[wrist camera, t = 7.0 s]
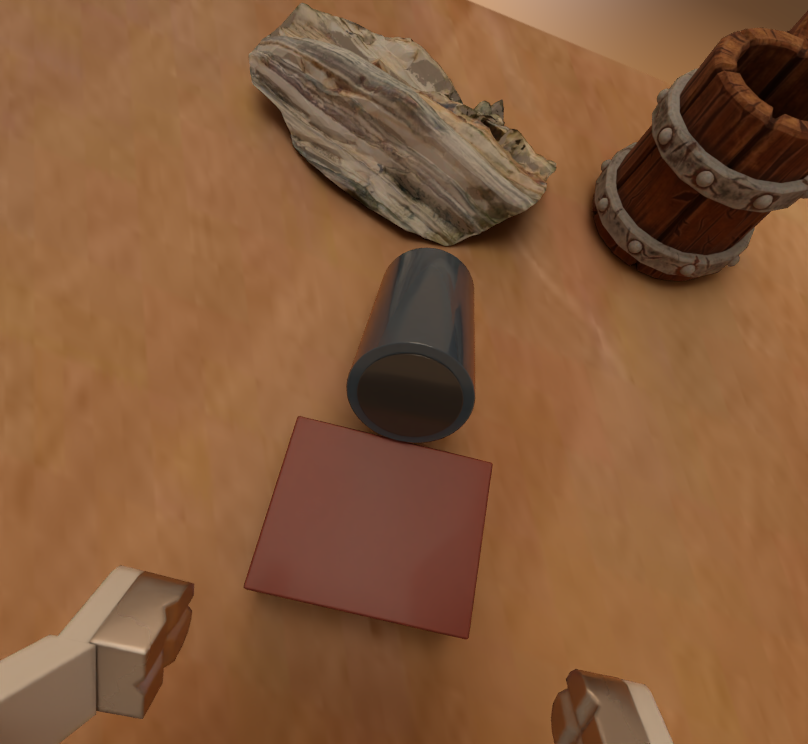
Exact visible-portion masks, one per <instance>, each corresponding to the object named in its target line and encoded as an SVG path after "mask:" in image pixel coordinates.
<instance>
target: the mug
mask: <svg viewBox="0 0 808 744" xmlns="http://www.w3.org/2000/svg"><path fill="white" fill-rule="evenodd" d="M657 102H658V105H657V106H656V108H655V110H654V111H653V113H652V126H651V127H650V128H649V129H648V130H647V131H646V133H645V134H644V135H643V136H642V137H641V139H640V140H639V141H638V142H635V143H633V144H631V145H629V146H627V147H626V148H624V149H622V150H620V151H619V152H617V153H616V154H615V156H614V157H613V158H612V159H611V160H606V161H604V162H603V163H602V165H601V170H602V173H601V175H600V176H599V178H598V179H597V181H596V190H595V194H594V198H593V212H596V213H597V214H596V215H595V216H594V220H595V223H596V226H597V229H598V232H599V235H600V236H601V237H602V239H603V240H604V241H605V243H606V244H607V246H608V247H609V248H610V250H611V251H612V252H613V253H614V254H615V255H616V256H617V257H619V258H620V259H621V260H623V261H624V262H625V263H626V264H628V265H629V266H630V265H632V264H634V263H637V270H638V271H640V272H642V273H645V274H647V275H649V276H652V277H654V278H657V279H665V280H673V281H685V280H690V279H694V278H698V277H699V276H704V275H708V274H713V273H717V272H719V271H720V270H721V269H722V268H724V267H725V266H726V265H727V266H734V265H736V264H737V263H738V262H739V259H740V258H739V254H740V253H741V252H743V251H744V250H745V249H746V248H747V246H748V244H749V241H750V239H751V236H752V234H753V231H754V227H755V226H756V225H757V224H758V223H759V222H760V221H761V220H762V219H763V218H764V217H766V216H767V215H768V214H769V213H770V212H771V211H774V210H779V209H784V208H788V207H789V206H791V205H792V204H793V203H794V202H796V201H797V200H798V199H800V198H803V199H804V198H808V11H807V12H806V13H805V14H804V15H803V16H802V18H801V19H800V20H799V21H798V22H797V23H796V24H795V26H794V27H793V28H792V29H791V30H790V31H787V32H783V31H778V30H773V29H767V28H751V29H744V30H742V31H741V32H740V31H737V32H733V33H731V34H729V35H727V36H725V37H724V38H722V39H721V40H720V42H719V43H718V44H717V45H716V47H715V48H714V49H713V50H712V52H711V53H710V54H709V56H708V57H707V58H706V59H705V61H704V62H703V63H702V64H701V66H700V67H699V68H698V69H694V70H692V71H691V72H689V73H687V74H685V75H683V76H681V77H679V78H677V80H676V81H675V82H674V83H673V85H672V86H671V87H670V88H669V89H664V90H662V91H661V92H660V93H659V95H658V96H657Z"/></svg>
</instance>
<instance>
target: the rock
mask: <svg viewBox="0 0 808 744" xmlns="http://www.w3.org/2000/svg"><path fill="white" fill-rule="evenodd" d="M249 62H250V73H251V79H252V82H253V85H254V86H255V87H257V88H258V89H259V90H260V91H261V92H262V93H263V94H265V95H266V96H267V97H268V98H269V99H270V100H271V101H272V102H273V103H274V104H275V105H276V106H277V107H278V109H279V110H280V111H281V113H282V115H283V118H284V120H285V123H286V125H287V127H288V128H289V130H290V132H291V139H292V143H293V145H294V147H295V148H296V149H297V150H298V151H299V153H300V154H301V155H302V156H304V157H305V158H306V159H307V161H308V162H309V163H311V164H312V165H313V166H315V167H316V168H317V169H318V170H320V171H321V172H322V173H323V174H324V175H325V176H326V177H328V178H329V179H330V180H331V181H333V182H334V183H335V184H336V185H337V186H339V187H340V188H341V189H343V190H344V191H346V192H347V193H348V194H349V195H351V196H352V197H353V198H355V199H357V200H358V201H359V202H361V203H362V204H364V205H365V206H366V207H368V208H369V209H371V210H373V211H375V212H376V213H378V214H380V215H381V216H383V217H385V218H386V219H388V220H390V221H391V222H393V223H395V224H396V225H398V226H399V227H401V228H403V229H404V230H406V231H409V232H413V233H416V234H419V235H421V236H422V237H423V238H424V239H430V240H432V241H435V242H437V243H439V244H441V245H444V246H449V245H453V244H456V243H458V242H460V241H461V240H463V239H465V238H467V237H470V236H473V235H478V234H480V232H481V231H486V230H487V229H489V228H491V227H492V226H494V225H496V224H498V223H500V222H502V221H504V220H505V219H507V218H509V217H512V216H515V215H517V214H519V213H521V212H524V211H526V210H527V209H528V208H529V207H531V206H532V205H534V204H535V203H537V202H538V200H539V199H540V198H541V196H542V195H543V193H544V192H545V191H546V188H547V183H546V180H547V178H548V177H549V176H550V175H551V174H552V173H554V172H555V170H556V167H555V166H556V163H555V162H553V161H550V160H546V159H545V158H544V157H543V156H541V155H539V154H537V153H535V151H534V150H533V148H532V147H531V146H530V145H529V144H528V142H527V141H526V140H525V138H524V137H523V136H522V134H521V133H520V132H519V131H518V130H515V129H509V128H508V127H506V126H504V123H505V122H504V121H503V112H504V107H503V100H500V101H498V102H496V103H495V104H493V105H492V106H490V103H488V102H486V101H482V102H480V103H479V104H478V105H477V106H476V107H475V109H472V108H470V107H468V106H466V105H463V103H462V101H461V99H460V97H459V95H458V93H457V91H456V90H455V88H454V86H453V84H452V82H451V80H450V79H449V77H448V76H447V75H446V73H445V72H444V70H443V69H442V68H441V66H440V65H439V64H438V63H437V62H436V61H435V60H434V59H433V58H432V57H431V56H430V55H429V53H428V52H427V51H426V50H425V49H424V48H423V47H421V46H420V45H419V44H417V43H415V42H414V41H413V40H412V39H411V38H401V37H395V38H388V37H384V36H382V35H379V34H376V33H373V32H371V31H369V30H368V29H366V28H364V27H362V26H360V25H358V24H356V23H354V22H351V21H349V20H346V19H343V18H340V17H336V16H332V15H330V14H328V13H324V12H321V11H318V10H315V9H312V8H311V7H310V6H308V5H307V4H304V3H301V4H300V5H298V6H297V8H296V9H295V10H294V11H293V12H292V13H291V14H290V16H289V17H288V18H287V19H286V20H285V21H284V22H283V24H282V25H281V26H280V27H278V28H277V29H276V30H275V31H274V32H272V33H271V34H270V35H268V36H267V37H265V38H264V39H262V40H261V42H260V43H259V44H258V46H257V47H256V48H255V49H254V50H253V51H252V52H251V53H250V54H249Z"/></svg>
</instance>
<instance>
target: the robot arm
mask: <svg viewBox="0 0 808 744" xmlns="http://www.w3.org/2000/svg"><path fill="white" fill-rule="evenodd" d="M193 596H194V584H193V583H190V582H186V581H182V580H178V579H174V578H170V577H166V576H162V575H158V574H155V573H151V572H147V571H143V570H138V569H134V568H130V567H126V566H122V565H120V566H119V567H117V568H116V569H114V570H113V571H112V572H111V573H110V574H109V575H108V576H107V578H106V579H105V580H104V581H103V582H102V584H101V585H100V586H99V587H98V588H97V590H96V591H95V592H94V593H93V594H92V596H91V597H90V598H89V599H88V600H87V602H86V603H85V604H84V605H83V606H82V608H81V609H80V610H79V611H78V612H77V614H76V615H75V616H74V617H73V618H72V620H71V621H70V622H69V623H68V624H67V626H66V627H65V628H64V629H63V630H62V632H61V633H60V634H59V635H58V636H55V635H48V636H46V637H44V638H42V639H40V640H39V641H37V642H35V643H33V644H31V645H29V646H27V647H25V648H23V649H22V650H20V651H18V652H16V653H14V654H12V655H10V656H8V657H6V658H4V659H3V660H1V661H0V744H59V743H60V742H62V741H63V740H64V739H65V738H67V737H68V736H69V735H70V734H72V733H73V732H74V731H76V730H77V729H78V728H79V727H81V726H82V725H83V724H84V723H86V722H87V721H88V720H89V719H91V718H92V717H93V716H95V715H96V711H100V712H106V713H111V714H117V715H122V716H128V717H133V718H139V719H143V718H144V716H145V714H146V713H147V711H148V709H149V707H150V705H151V704H152V702H153V700H154V698H155V696H156V694H157V693H158V691H159V689H160V687H161V685H162V683H163V671H164V668H165V667H166V666H168V665H169V664H171V663H172V662H174V661H175V659H176V657H177V655H178V654H179V652H180V650H181V648H182V646H183V643H184V641H185V638H186V636H187V633H188V630H189V626H190V622H191V617H192V610H191V609H190V607H189V606H188V605H189V603H190V601H191V599H192V598H193ZM566 682H567V685H568V688H567V689H565V690H563V691H561V692H559V693H558V694H557V696H556V699H555V701H554V703H553V706H552V714H551V726H552V734H553V739H554V743H555V744H674V743H673V741H672V739H671V736H670V734H669V732H668V730H667V727H666V725H665V723H664V720H663V718H662V716H661V714H660V711H659V709H658V707H657V705H656V702H655V700H654V698H653V695H652V693H651V691H650V690H649V689H648V687H647V686H646V685H644V684H640V683H636V682H631V681H627V680H623V679H619V678H616V677H611V676H607V675H602V674H597V673H592V672H588V671H583V670H578V669H575V670H573V671H571V672H570V673H569V675H568V677H567V678H566Z"/></svg>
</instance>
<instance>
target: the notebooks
mask: <svg viewBox="0 0 808 744" xmlns="http://www.w3.org/2000/svg"><path fill="white" fill-rule="evenodd" d="M491 472H492V463H490V462H486V461H482V460H478V459H474V458H470V457H465V456H461V455H457V454H453V453H449V452H445V451H441V450H437V449H433V448H429V447H424V446H420V445H416V444H412V443H408V442H402V441H397V440H394V439H390V438H387V437H383V436H379V435H375V434H371V433H367V432H363V431H359V430H355V429H350V428H346V427H342V426H338V425H334V424H330V423H326V422H322V421H318V420H313V419H309V418H305V417H301V416H298V417H297V420H296V423H295V426H294V429H293V433H292V436H291V439H290V442H289V445H288V448H287V451H286V455H285V458H284V461H283V464H282V467H281V470H280V473H279V477H278V480H277V483H276V486H275V489H274V492H273V495H272V499H271V502H270V505H269V508H268V511H267V514H266V517H265V521H264V524H263V527H262V530H261V533H260V536H259V539H258V543H257V546H256V549H255V552H254V555H253V558H252V561H251V565H250V568H249V571H248V574H247V577H246V580H245V583H244V588H245V589H247V590H252V591H256V592H261V593H265V594H269V595H274V596H278V597H282V598H287V599H291V600H296V601H300V602H304V603H309V604H313V605H318V606H322V607H326V608H331V609H335V610H340V611H344V612H348V613H353V614H357V615H361V616H366V617H370V618H375V619H379V620H383V621H388V622H392V623H397V624H401V625H405V626H410V627H414V628H418V629H423V630H427V631H432V632H436V633H440V634H445V635H449V636H454V637H458V638H462V639H468V638H469V631H470V624H471V617H472V610H473V602H474V595H475V588H476V581H477V573H478V566H479V559H480V551H481V544H482V537H483V530H484V522H485V515H486V508H487V501H488V493H489V486H490V479H491Z"/></svg>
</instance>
